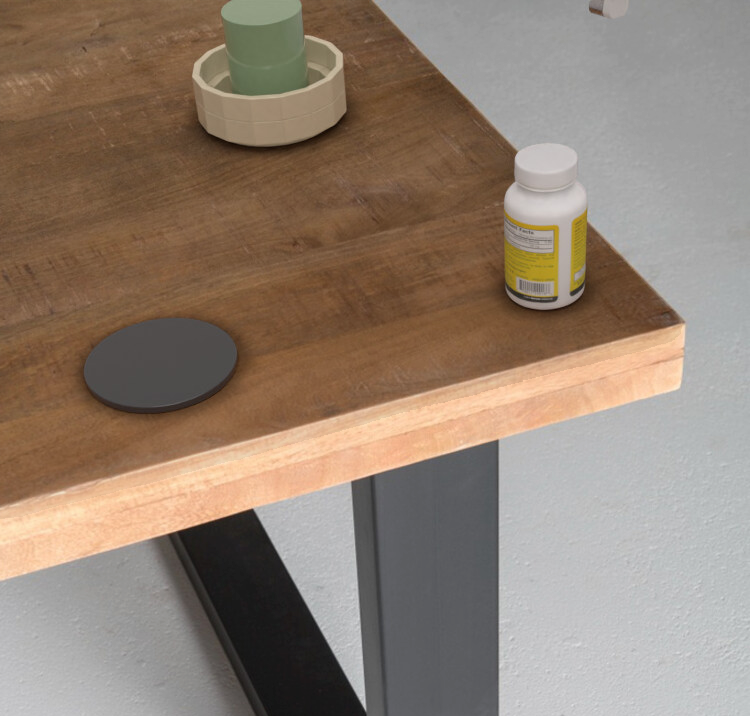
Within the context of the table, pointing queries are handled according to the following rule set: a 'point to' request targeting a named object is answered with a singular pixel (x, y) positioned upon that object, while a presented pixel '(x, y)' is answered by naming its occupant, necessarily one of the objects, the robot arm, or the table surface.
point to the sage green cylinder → (265, 46)
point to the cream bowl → (271, 100)
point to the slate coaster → (160, 365)
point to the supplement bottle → (545, 228)
